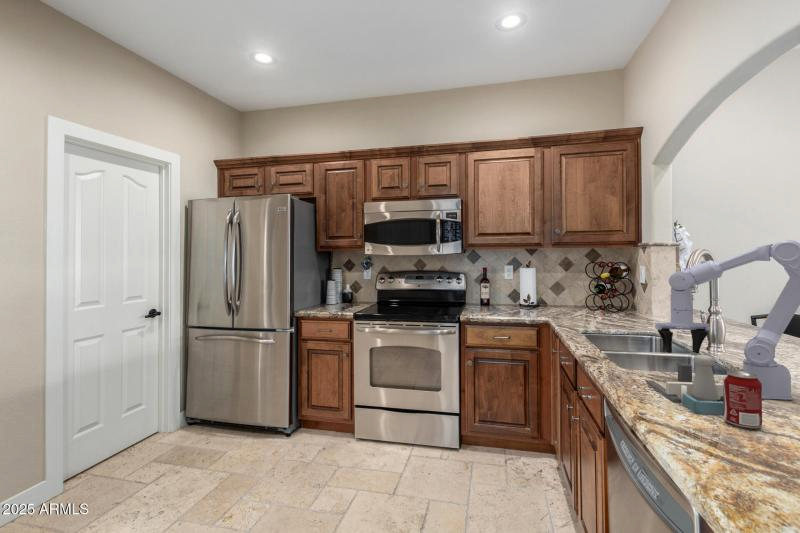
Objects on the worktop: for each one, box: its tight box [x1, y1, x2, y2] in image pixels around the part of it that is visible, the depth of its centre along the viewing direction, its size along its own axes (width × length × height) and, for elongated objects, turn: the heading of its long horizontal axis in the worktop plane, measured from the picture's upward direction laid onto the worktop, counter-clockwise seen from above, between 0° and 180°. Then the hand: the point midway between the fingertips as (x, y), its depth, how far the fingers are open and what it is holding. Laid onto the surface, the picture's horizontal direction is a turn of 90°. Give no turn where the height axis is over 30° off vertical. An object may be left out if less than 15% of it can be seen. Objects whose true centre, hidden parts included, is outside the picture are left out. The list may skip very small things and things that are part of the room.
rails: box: [645, 379, 724, 404], centre depth 112 cm, size 15×17×1 cm
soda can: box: [722, 369, 763, 430], centre depth 91 cm, size 7×7×12 cm
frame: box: [680, 385, 724, 416], centre depth 100 cm, size 12×7×5 cm, turn 79°
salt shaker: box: [691, 354, 719, 402], centre depth 104 cm, size 6×6×13 cm
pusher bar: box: [665, 363, 723, 401], centre depth 111 cm, size 15×8×8 cm, turn 79°
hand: (682, 352), depth 123 cm, fingers open, 7 cm apart
